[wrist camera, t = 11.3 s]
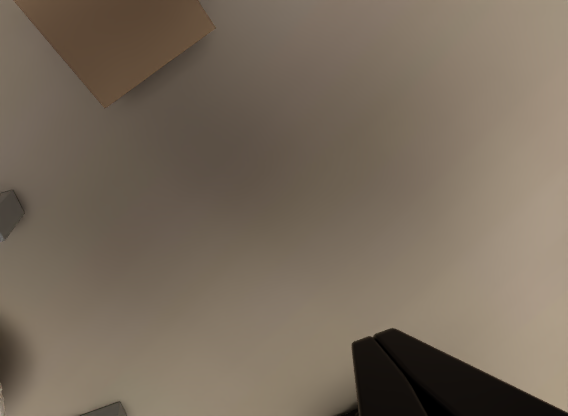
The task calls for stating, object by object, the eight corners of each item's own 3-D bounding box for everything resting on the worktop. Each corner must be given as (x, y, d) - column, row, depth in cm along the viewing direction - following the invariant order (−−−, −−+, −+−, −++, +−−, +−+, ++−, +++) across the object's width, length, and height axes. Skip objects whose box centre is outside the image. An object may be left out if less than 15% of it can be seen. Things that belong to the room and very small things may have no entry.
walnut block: (204, 27, 17) (216, 27, 14) (116, 90, 17) (105, 108, 14) (131, -81, 15) (122, -114, 12) (34, -11, 16) (-5, -21, 12)
